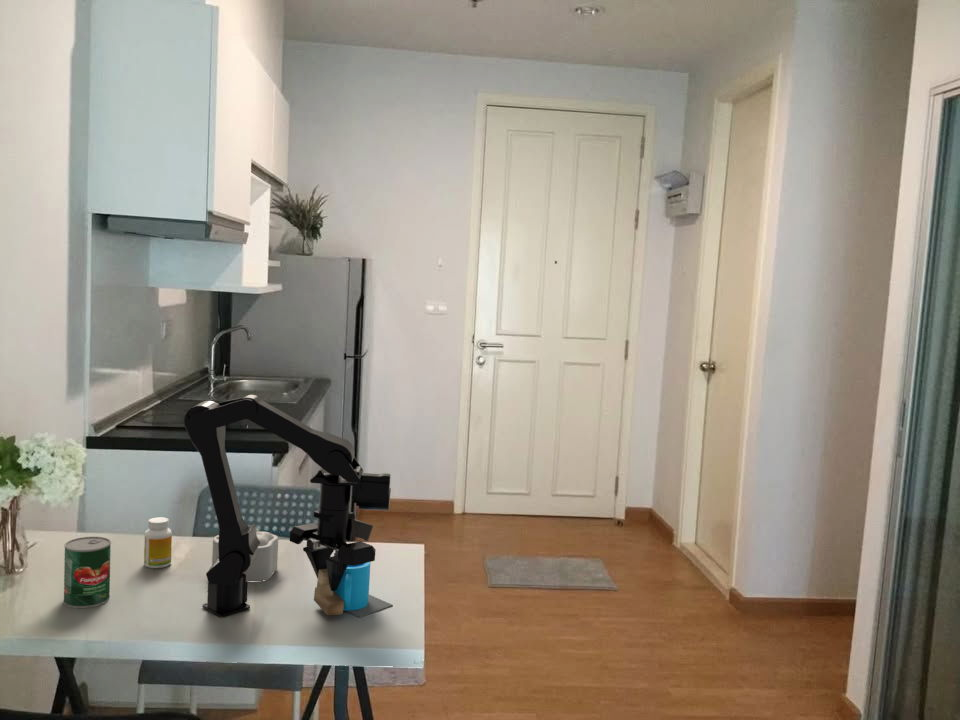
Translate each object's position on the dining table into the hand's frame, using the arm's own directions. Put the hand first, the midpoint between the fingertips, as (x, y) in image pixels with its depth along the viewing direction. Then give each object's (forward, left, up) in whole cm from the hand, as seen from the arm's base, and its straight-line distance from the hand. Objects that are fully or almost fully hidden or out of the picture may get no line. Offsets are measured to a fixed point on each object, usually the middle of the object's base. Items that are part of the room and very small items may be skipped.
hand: (328, 588), depth 158 cm
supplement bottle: (-11, +43, -5) cm, 45 cm away
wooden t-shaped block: (-1, 0, -4) cm, 4 cm away
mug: (+4, 0, -5) cm, 7 cm away
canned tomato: (-30, +34, -5) cm, 46 cm away
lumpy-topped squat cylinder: (0, +28, -5) cm, 28 cm away
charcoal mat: (+7, +1, -5) cm, 9 cm away
